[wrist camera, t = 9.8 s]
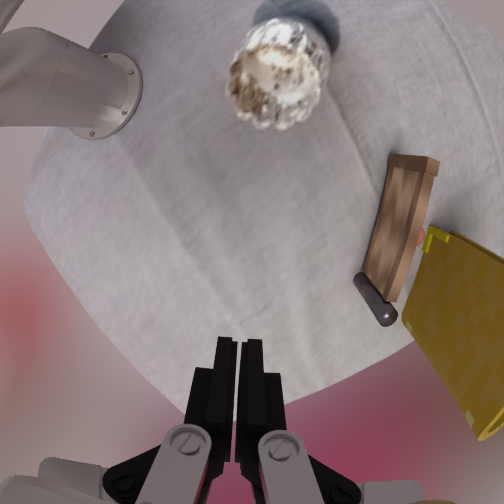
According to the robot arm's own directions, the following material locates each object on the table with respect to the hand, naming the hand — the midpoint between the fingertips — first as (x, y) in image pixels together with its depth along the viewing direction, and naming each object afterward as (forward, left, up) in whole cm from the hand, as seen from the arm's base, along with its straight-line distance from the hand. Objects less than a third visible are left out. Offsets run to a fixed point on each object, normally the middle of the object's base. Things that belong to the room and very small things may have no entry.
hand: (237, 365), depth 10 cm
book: (+27, +10, -26) cm, 39 cm away
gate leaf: (+13, +11, -25) cm, 30 cm away
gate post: (+17, +3, -26) cm, 31 cm away
